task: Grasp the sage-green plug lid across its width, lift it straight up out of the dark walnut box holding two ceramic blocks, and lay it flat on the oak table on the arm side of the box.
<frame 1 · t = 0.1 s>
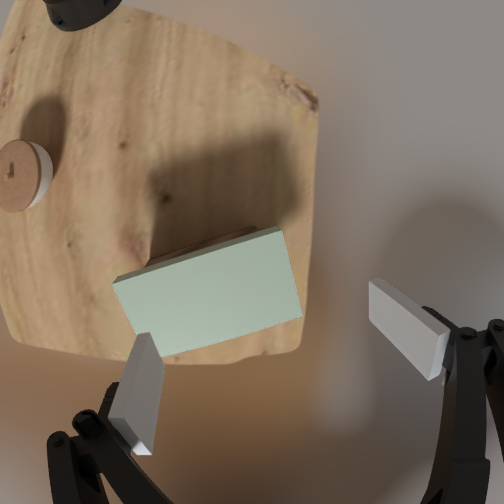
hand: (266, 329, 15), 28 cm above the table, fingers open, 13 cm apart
lid: (208, 293, 34), point 10 cm above the table, touching box
lidded jar: (39, 173, 35), on the table
box: (209, 266, 43), on the table
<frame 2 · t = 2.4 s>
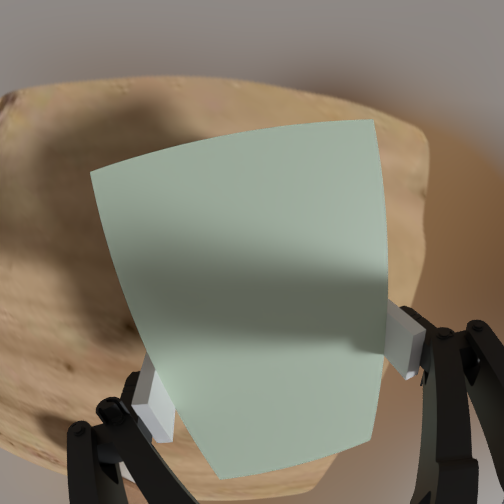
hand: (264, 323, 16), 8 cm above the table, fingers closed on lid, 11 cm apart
lid: (270, 339, 14), point 10 cm above the table, touching box, gripper
lidded jar: (116, 449, 29), on the table
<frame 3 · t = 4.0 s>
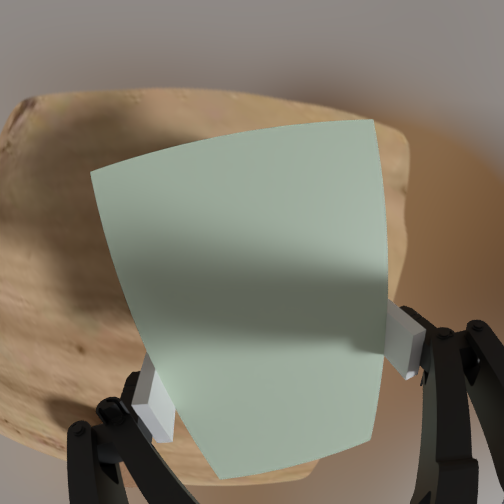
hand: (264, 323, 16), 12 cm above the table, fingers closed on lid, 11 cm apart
lid: (270, 339, 14), point 14 cm above the table, touching gripper
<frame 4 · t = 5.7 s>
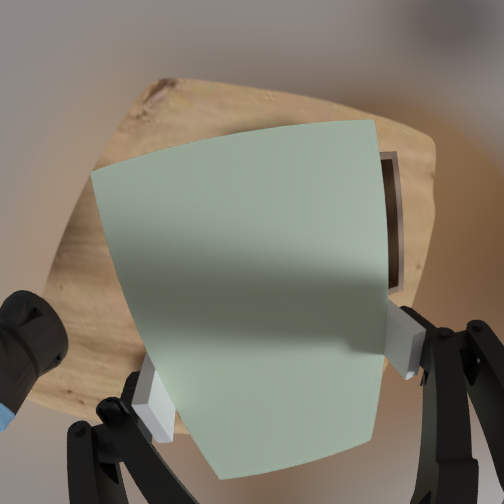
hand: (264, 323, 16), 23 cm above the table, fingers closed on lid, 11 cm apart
lid: (270, 339, 14), point 24 cm above the table, touching gripper
box: (339, 216, 39), on the table
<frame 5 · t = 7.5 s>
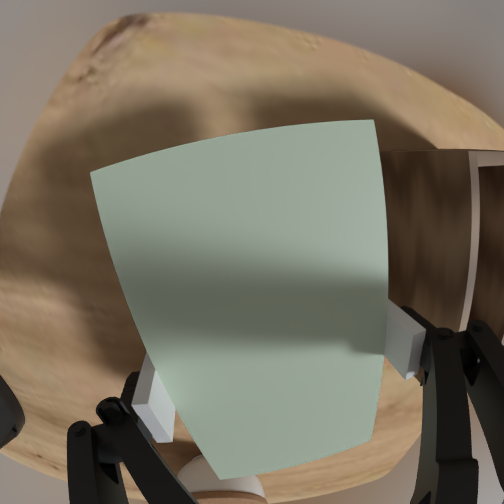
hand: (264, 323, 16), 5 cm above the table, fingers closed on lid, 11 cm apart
lid: (270, 339, 14), point 7 cm above the table, touching gripper
lidded jar: (215, 462, 27), on the table
box: (415, 246, 22), on the table
when the fingers open (2 cm above the table, at t = 8.8 s): lid drops 3 cm, point 1 cm above the table.
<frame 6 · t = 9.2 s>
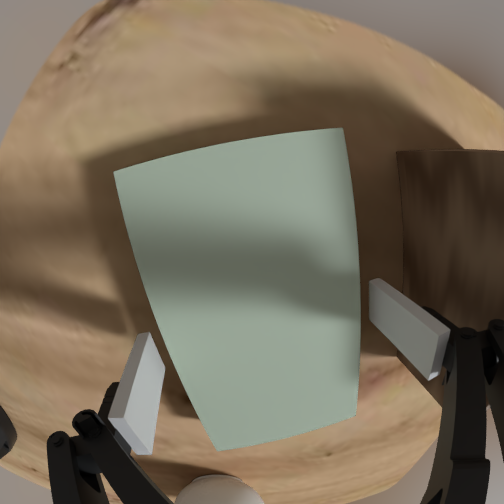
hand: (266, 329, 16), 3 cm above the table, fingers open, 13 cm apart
lid: (260, 314, 17), point 1 cm above the table
lidded jar: (217, 483, 24), on the table
box: (439, 257, 19), on the table
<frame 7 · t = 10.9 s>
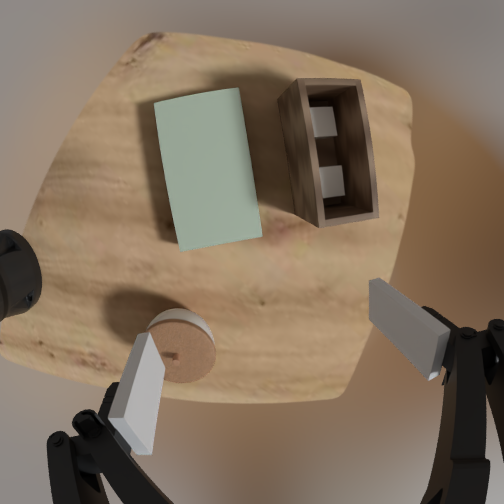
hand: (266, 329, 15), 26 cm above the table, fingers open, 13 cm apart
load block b: (311, 126, 36), point 1 cm above the table, touching box
lid: (208, 168, 36), point 1 cm above the table
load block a: (318, 180, 39), point 1 cm above the table, touching box
lidded jar: (181, 326, 43), on the table
box: (313, 153, 38), on the table
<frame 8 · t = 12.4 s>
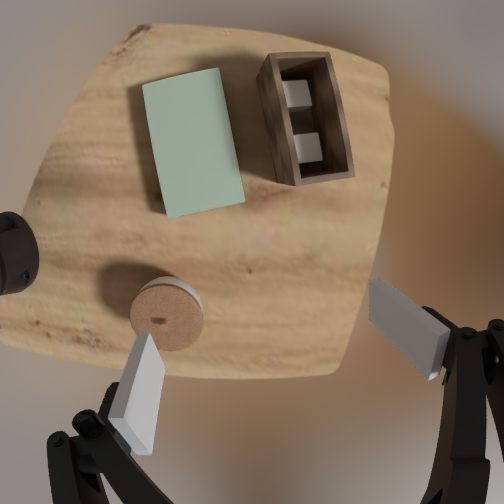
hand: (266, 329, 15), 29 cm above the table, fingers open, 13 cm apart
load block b: (288, 99, 38), point 1 cm above the table, touching box
lid: (192, 141, 38), point 1 cm above the table
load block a: (298, 149, 40), point 1 cm above the table, touching box
lidded jar: (172, 297, 45), on the table
box: (292, 125, 40), on the table
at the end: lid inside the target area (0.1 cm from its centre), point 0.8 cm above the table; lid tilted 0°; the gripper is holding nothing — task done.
